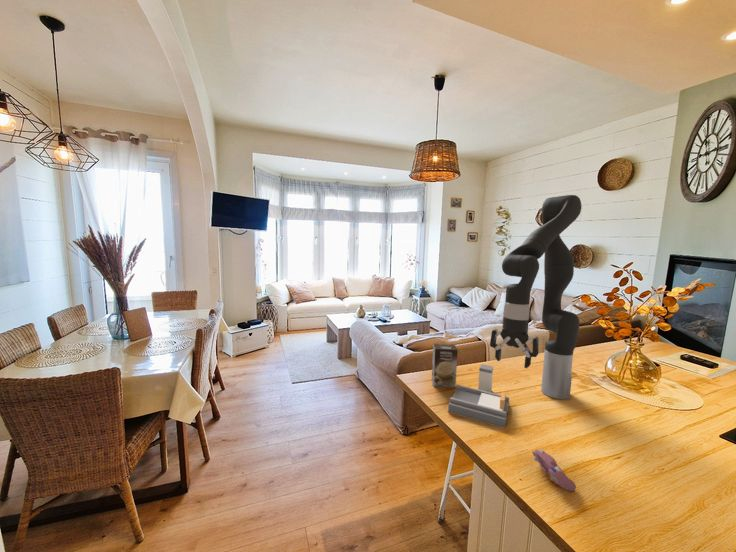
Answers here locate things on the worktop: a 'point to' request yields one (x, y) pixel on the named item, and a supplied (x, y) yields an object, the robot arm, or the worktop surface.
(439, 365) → the coffee box
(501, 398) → the shutter
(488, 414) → the grey sliding panel box
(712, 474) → the worktop surface
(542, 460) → the pink curved piece
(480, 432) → the worktop surface
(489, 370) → the plug
